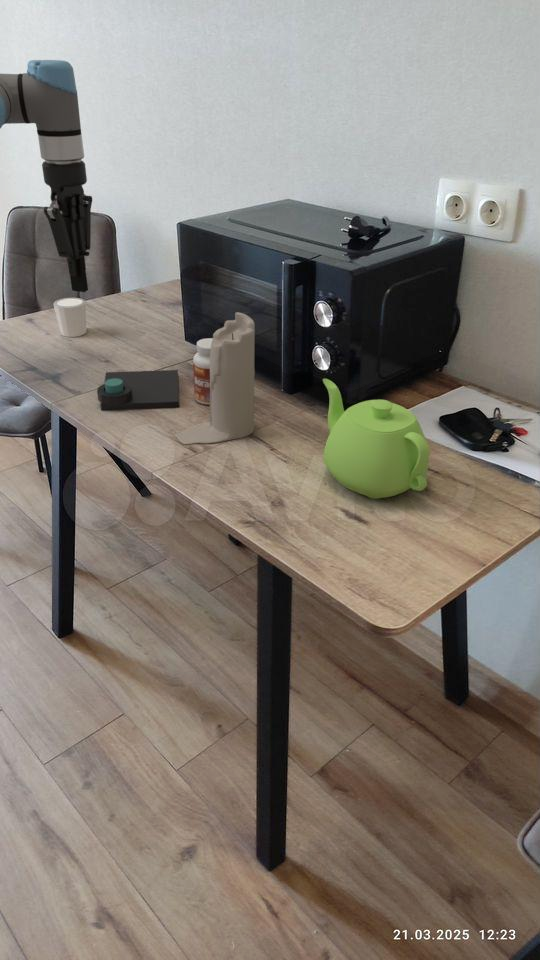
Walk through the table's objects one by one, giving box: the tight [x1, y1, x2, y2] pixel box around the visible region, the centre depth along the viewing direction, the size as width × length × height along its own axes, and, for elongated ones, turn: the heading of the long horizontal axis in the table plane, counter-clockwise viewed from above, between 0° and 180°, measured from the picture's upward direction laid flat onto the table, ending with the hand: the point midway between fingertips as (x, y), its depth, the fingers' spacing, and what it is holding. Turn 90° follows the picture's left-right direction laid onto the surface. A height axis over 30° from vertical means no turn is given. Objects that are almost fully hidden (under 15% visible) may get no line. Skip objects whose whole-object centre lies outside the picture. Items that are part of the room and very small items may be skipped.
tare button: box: [104, 378, 124, 394], centre depth 127 cm, size 3×3×2 cm
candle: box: [173, 311, 256, 445], centre depth 115 cm, size 7×14×20 cm, turn 115°
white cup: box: [52, 297, 87, 338], centre depth 156 cm, size 7×7×7 cm
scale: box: [96, 369, 180, 411], centre depth 132 cm, size 14×14×3 cm
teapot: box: [322, 378, 431, 500], centre depth 107 cm, size 22×15×13 cm
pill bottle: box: [192, 337, 213, 406], centre depth 129 cm, size 6×6×11 cm
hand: (80, 290), depth 139 cm, fingers closed
